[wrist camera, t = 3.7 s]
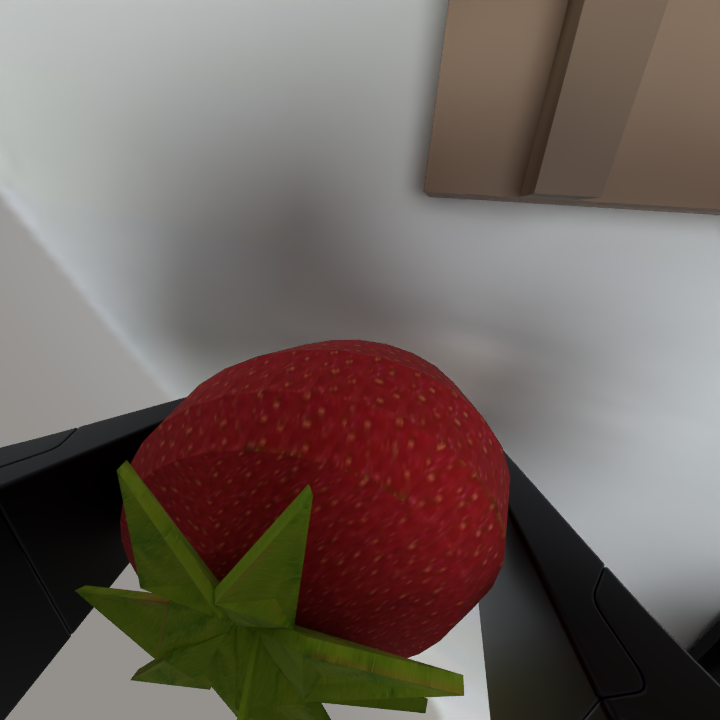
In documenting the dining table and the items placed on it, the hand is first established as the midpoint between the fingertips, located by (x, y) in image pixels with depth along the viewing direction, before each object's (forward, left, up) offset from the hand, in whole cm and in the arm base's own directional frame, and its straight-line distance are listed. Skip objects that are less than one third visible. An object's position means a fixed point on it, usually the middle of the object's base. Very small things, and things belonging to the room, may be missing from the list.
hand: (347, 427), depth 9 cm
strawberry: (0, 0, -3) cm, 3 cm away
